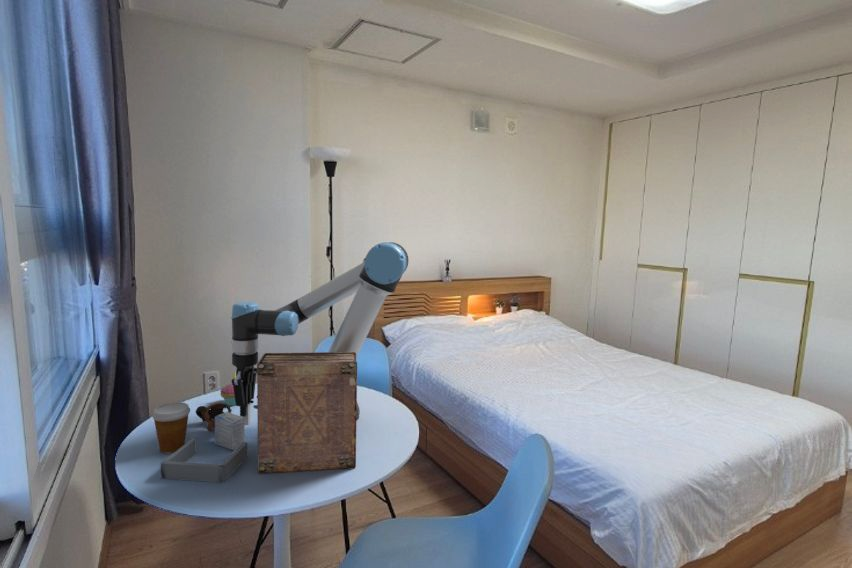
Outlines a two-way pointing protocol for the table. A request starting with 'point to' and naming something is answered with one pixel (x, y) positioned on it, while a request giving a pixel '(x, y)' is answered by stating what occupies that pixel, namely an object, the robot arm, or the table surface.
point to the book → (306, 411)
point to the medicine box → (229, 430)
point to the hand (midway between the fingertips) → (245, 424)
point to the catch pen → (200, 465)
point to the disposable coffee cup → (171, 425)
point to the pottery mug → (211, 413)
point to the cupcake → (229, 394)
